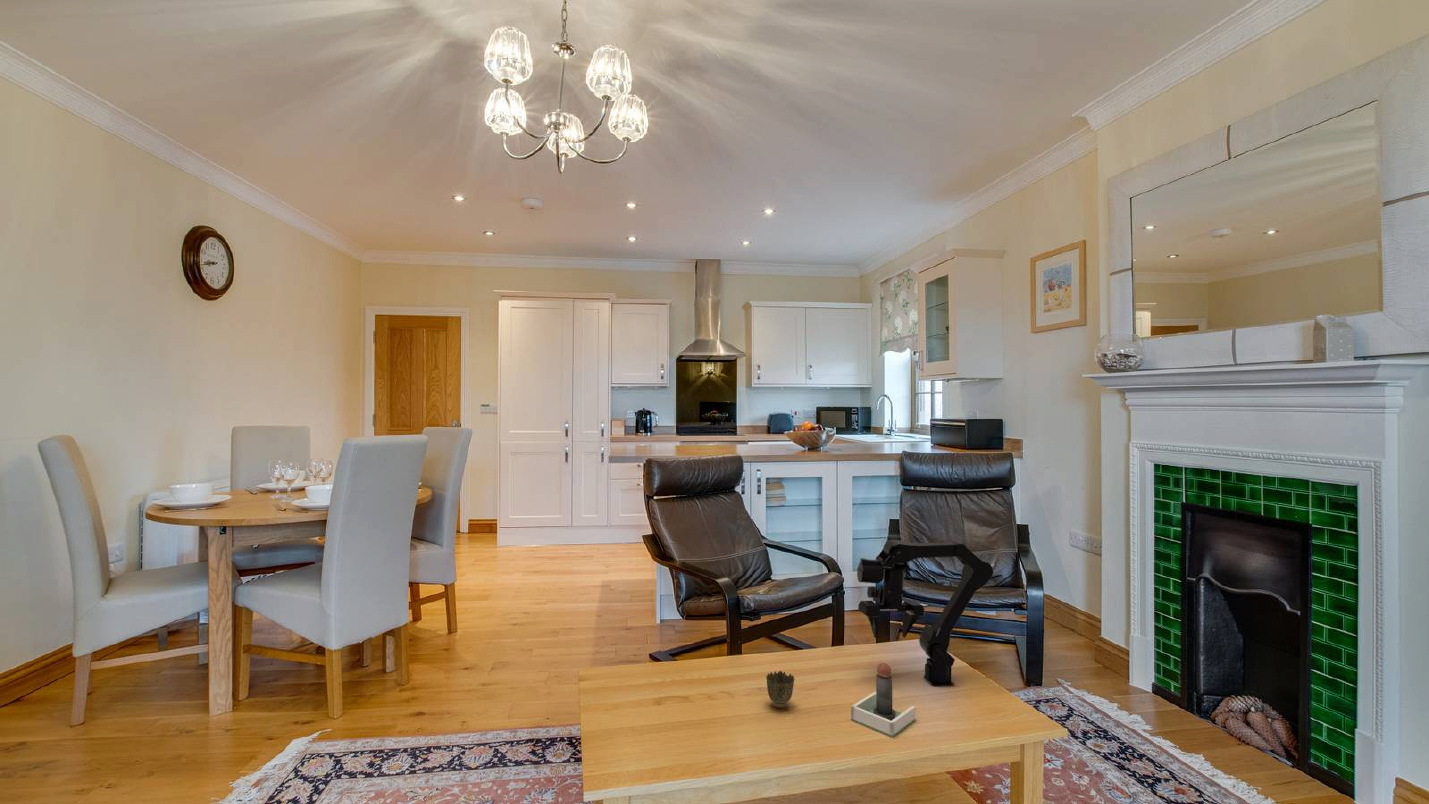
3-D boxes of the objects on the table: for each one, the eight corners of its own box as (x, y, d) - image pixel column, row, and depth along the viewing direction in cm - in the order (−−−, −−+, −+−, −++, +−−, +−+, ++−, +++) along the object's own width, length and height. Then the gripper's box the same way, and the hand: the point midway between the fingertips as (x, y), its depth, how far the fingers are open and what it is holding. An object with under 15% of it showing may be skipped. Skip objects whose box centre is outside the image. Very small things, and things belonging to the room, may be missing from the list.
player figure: (884, 710, 164) (884, 657, 165) (900, 719, 160) (900, 665, 160) (868, 715, 162) (868, 662, 162) (884, 724, 157) (884, 669, 157)
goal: (874, 704, 169) (875, 691, 169) (915, 720, 161) (915, 706, 161) (850, 720, 160) (851, 706, 160) (892, 737, 152) (892, 723, 152)
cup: (799, 706, 167) (799, 676, 167) (782, 716, 161) (783, 685, 161) (777, 697, 172) (777, 668, 172) (760, 706, 166) (760, 676, 166)
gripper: (907, 576, 193) (903, 627, 193) (851, 576, 189) (848, 627, 189) (927, 587, 183) (923, 640, 183) (869, 587, 178) (865, 642, 178)
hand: (889, 637), depth 183 cm, fingers open, 9 cm apart
